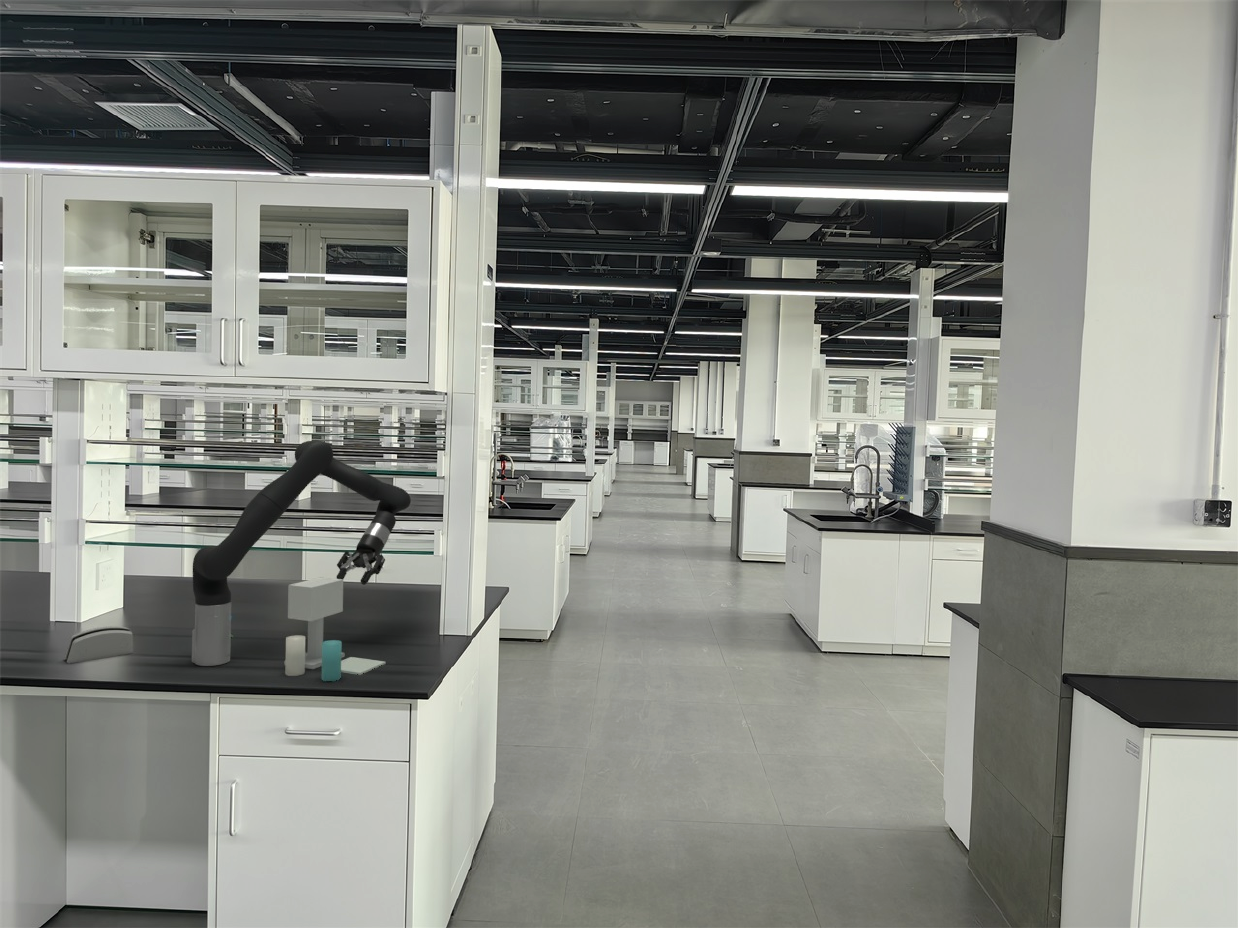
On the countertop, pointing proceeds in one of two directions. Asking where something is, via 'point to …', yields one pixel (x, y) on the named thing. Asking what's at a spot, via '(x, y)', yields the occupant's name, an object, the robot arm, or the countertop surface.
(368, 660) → the mat
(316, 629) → the mounted unit
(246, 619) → the countertop surface
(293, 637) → the cream part
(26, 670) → the countertop surface
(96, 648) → the grey curved piece
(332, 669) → the teal part
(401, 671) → the countertop surface
